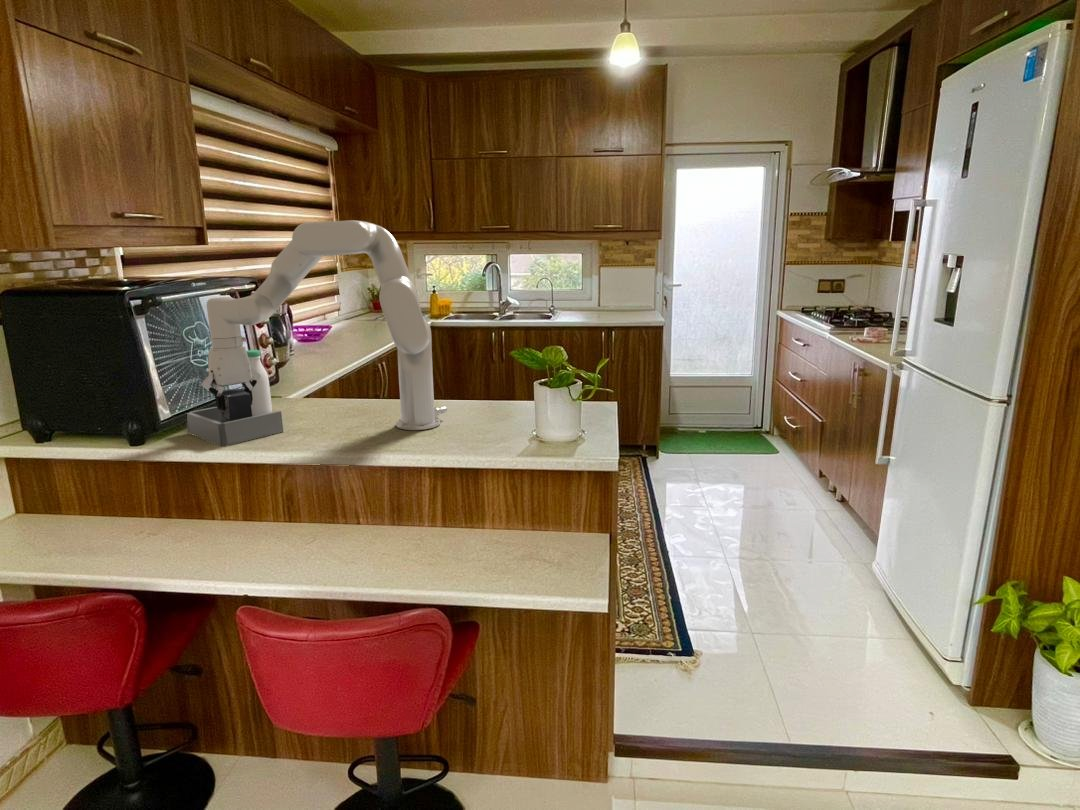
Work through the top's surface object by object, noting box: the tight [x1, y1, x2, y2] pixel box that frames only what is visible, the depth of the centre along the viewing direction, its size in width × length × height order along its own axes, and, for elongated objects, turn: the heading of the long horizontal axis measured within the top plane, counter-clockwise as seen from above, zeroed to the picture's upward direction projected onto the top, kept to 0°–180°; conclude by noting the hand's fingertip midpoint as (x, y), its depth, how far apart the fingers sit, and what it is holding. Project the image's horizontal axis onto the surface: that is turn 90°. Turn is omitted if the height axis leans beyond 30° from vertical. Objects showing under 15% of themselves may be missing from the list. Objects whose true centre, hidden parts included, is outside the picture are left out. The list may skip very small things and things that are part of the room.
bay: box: [185, 406, 284, 447], centre depth 186 cm, size 17×20×6 cm
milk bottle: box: [241, 349, 273, 416], centre depth 204 cm, size 8×8×20 cm
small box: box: [219, 388, 252, 423], centre depth 186 cm, size 11×6×10 cm, turn 40°
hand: (235, 406), depth 186 cm, fingers closed on small box, 7 cm apart
